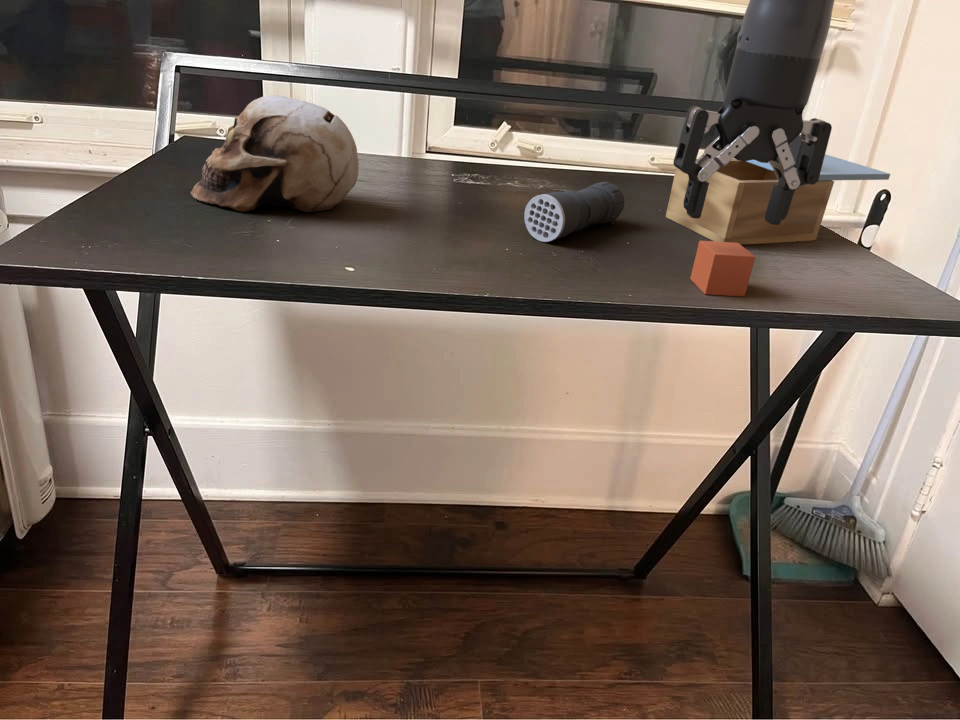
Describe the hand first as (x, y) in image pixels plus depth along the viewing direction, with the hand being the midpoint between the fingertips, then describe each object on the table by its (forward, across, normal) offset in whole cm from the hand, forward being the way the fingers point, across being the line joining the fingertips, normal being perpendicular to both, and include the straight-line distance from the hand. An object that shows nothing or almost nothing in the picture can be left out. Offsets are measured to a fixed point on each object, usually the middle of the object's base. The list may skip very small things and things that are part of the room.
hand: (732, 219), depth 76 cm
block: (+8, 0, 0) cm, 8 cm away
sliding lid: (-1, +22, +26) cm, 34 cm away
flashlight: (+8, -12, +17) cm, 22 cm away
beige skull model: (+8, -49, +21) cm, 54 cm away
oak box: (+7, +13, +23) cm, 27 cm away
